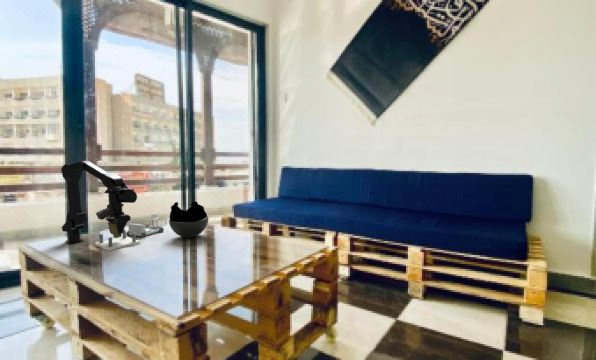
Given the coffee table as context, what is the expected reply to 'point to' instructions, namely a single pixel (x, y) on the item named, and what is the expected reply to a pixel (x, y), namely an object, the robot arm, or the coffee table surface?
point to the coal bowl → (188, 220)
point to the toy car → (144, 231)
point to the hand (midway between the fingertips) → (117, 233)
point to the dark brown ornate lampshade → (114, 229)
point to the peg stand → (117, 242)
